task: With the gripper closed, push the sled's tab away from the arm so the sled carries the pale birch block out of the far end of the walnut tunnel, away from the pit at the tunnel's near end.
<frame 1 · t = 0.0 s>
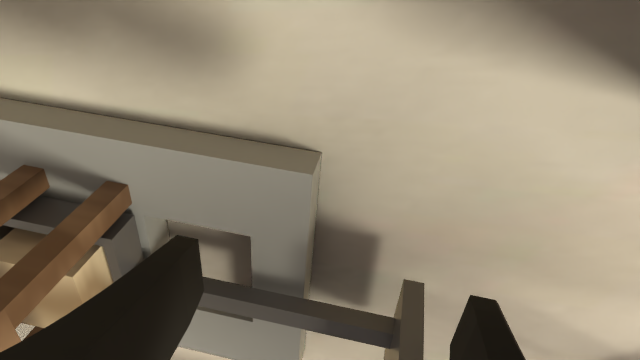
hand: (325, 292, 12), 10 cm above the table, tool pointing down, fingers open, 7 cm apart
block: (90, 248, 26), point 2 cm above the table, touching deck
sled: (190, 313, 22), point 5 cm above the table, slide at 0.0 cm
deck: (110, 226, 27), on the table
tunnel: (117, 228, 27), resting on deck
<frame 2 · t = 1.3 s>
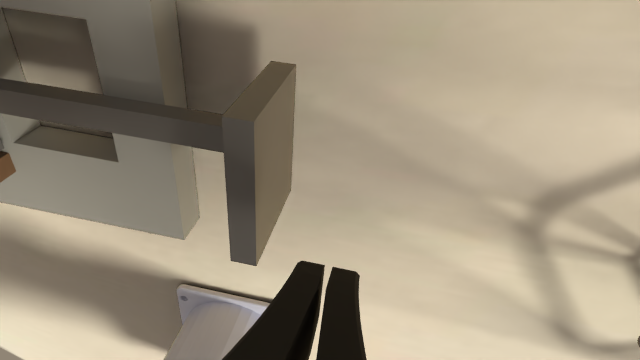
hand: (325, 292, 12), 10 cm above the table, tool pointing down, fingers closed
sled: (10, 116, 18), point 5 cm above the table, slide at 0.0 cm
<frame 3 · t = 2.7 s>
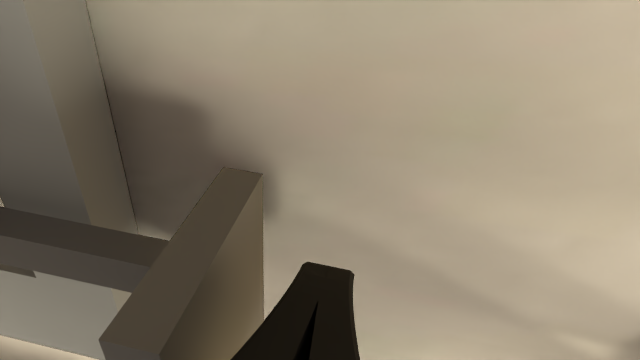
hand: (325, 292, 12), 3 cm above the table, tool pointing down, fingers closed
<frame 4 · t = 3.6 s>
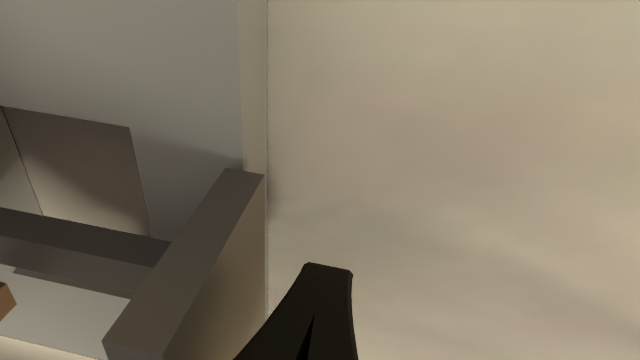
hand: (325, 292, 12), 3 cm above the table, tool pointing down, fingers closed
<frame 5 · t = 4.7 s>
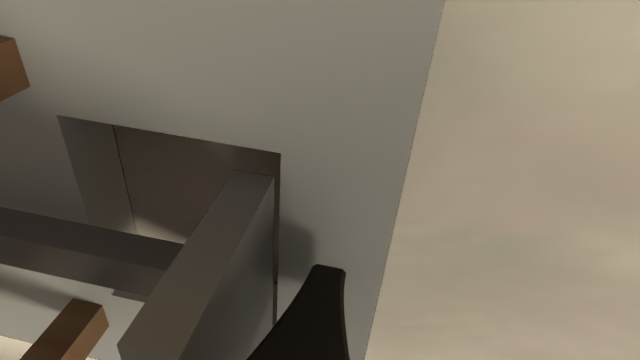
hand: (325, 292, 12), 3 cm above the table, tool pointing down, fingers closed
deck: (20, 162, 15), on the table
tunnel: (33, 164, 15), resting on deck
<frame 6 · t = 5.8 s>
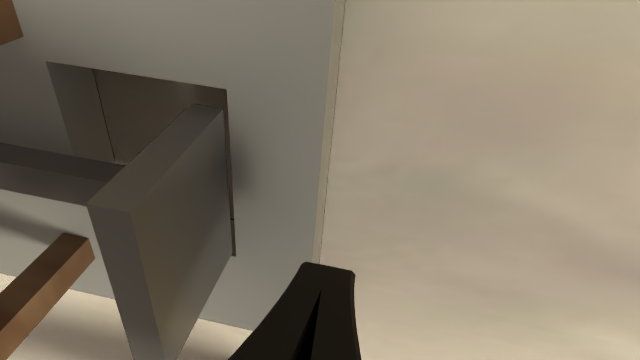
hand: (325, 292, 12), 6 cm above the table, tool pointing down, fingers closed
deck: (17, 113, 18), on the table
tunnel: (28, 115, 18), resting on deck
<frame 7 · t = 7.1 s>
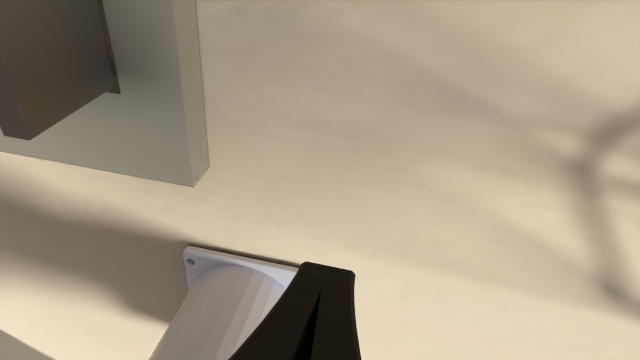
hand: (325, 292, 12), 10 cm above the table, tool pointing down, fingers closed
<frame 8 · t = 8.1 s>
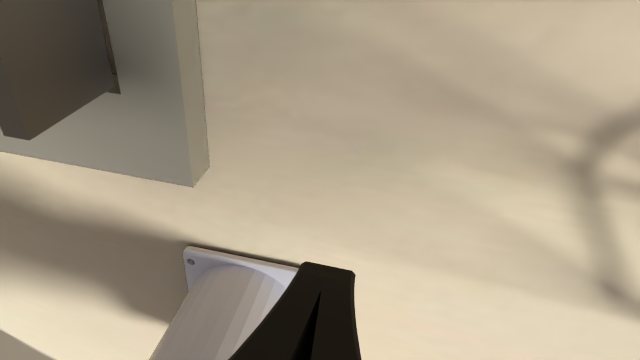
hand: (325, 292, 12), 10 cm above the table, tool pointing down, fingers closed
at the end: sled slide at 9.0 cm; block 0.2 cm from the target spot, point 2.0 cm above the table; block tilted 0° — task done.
